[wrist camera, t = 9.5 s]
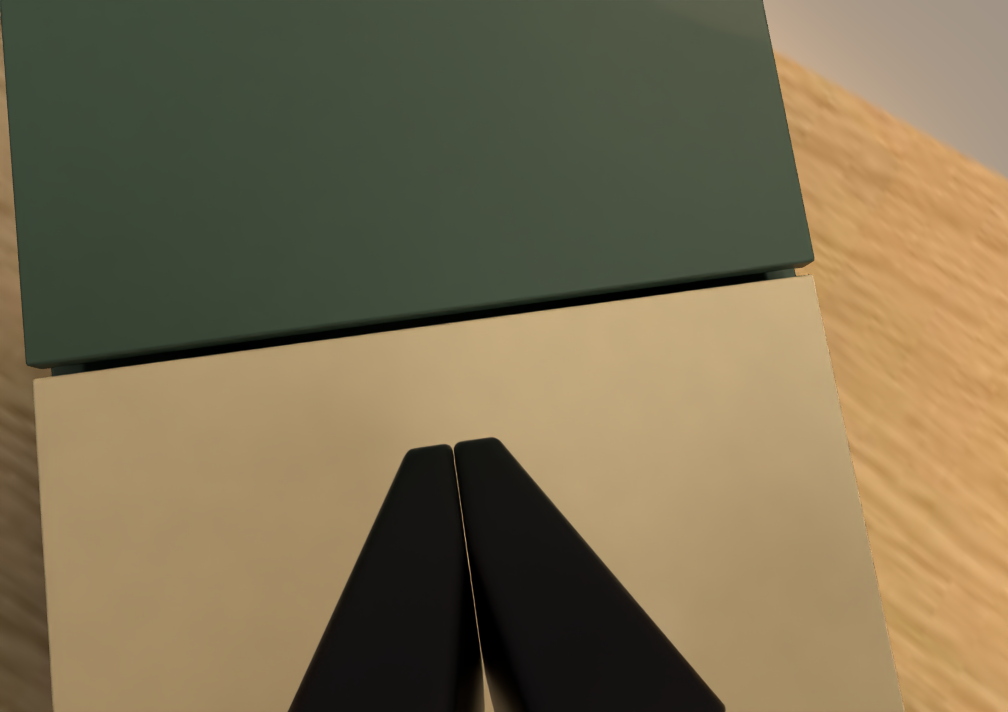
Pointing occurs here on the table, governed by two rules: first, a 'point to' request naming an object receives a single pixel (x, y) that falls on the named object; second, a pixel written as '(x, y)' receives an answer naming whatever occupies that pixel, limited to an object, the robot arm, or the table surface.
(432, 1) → the box
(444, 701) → the robot arm
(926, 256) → the table surface
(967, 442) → the table surface
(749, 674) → the flap
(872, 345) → the table surface
